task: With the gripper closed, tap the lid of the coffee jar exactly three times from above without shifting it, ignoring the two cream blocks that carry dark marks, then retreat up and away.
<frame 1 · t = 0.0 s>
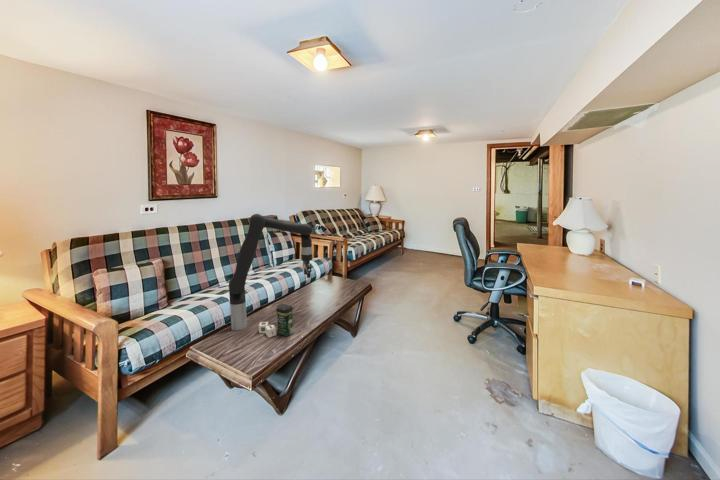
hand: (307, 276, 200), 29 cm above the table, fingers open, 8 cm apart
marked block B: (263, 331, 183), on the table
coffee jar: (285, 333, 181), on the table
marked block A: (270, 334, 179), on the table
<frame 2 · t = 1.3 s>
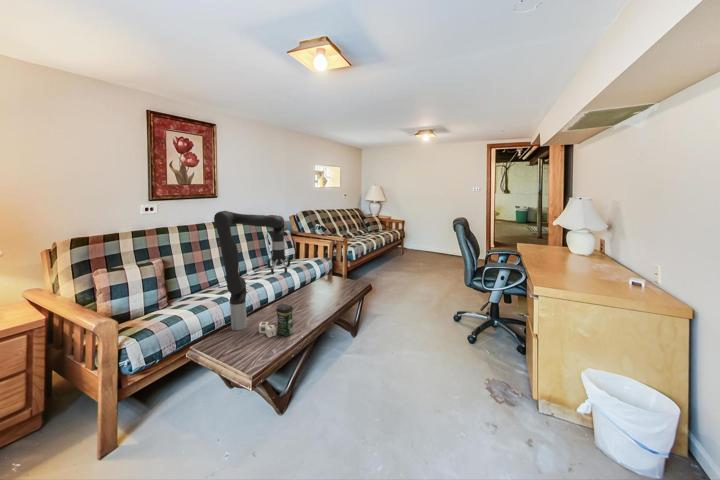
hand: (279, 273, 183), 36 cm above the table, fingers open, 7 cm apart
nothing on the table moved.
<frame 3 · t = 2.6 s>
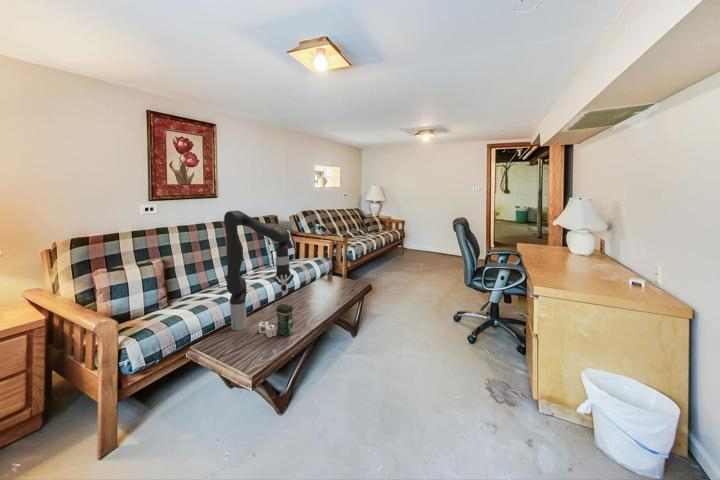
hand: (284, 290, 176), 28 cm above the table, fingers closed
nothing on the table moved.
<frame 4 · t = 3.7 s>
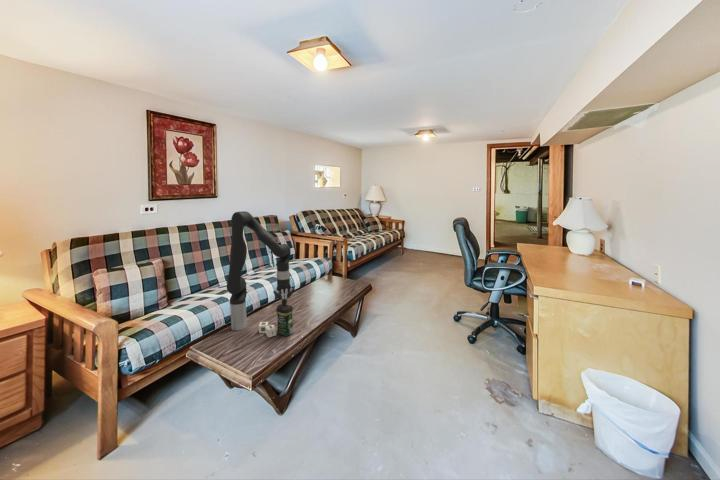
hand: (284, 304, 178), 19 cm above the table, fingers closed
nothing on the table moved.
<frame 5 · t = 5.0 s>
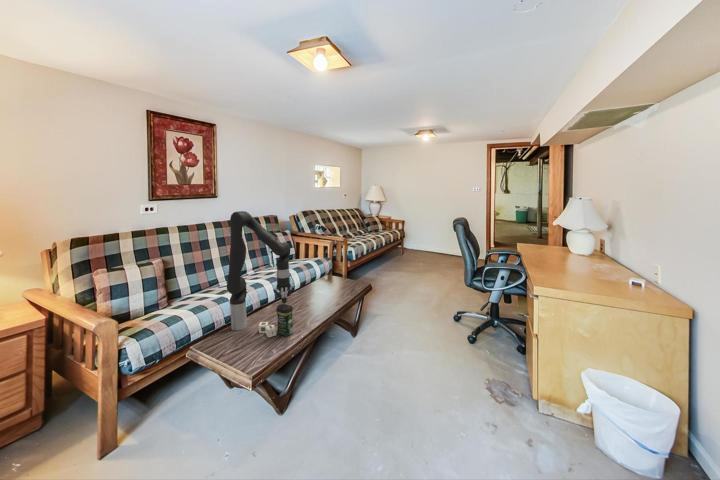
hand: (284, 303, 177), 20 cm above the table, fingers closed
nothing on the table moved.
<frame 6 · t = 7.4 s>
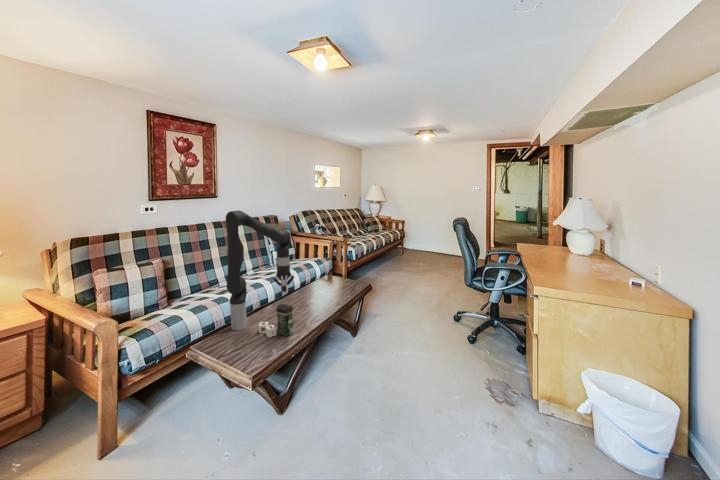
hand: (284, 291, 176), 27 cm above the table, fingers closed
nothing on the table moved.
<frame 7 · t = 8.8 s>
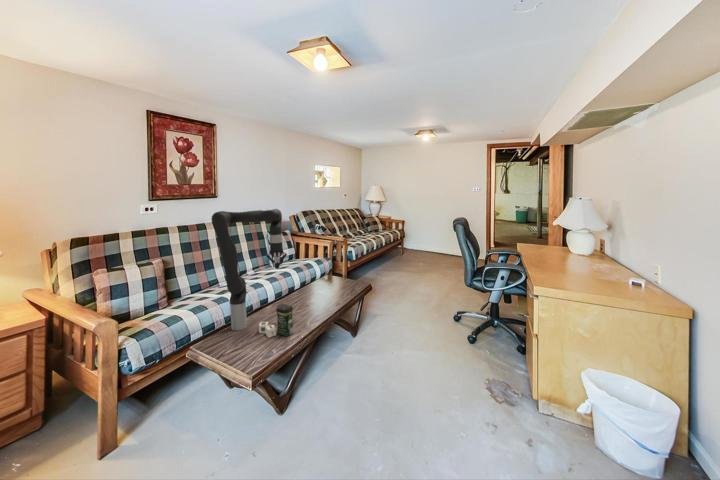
hand: (277, 268, 183), 39 cm above the table, fingers closed
nothing on the table moved.
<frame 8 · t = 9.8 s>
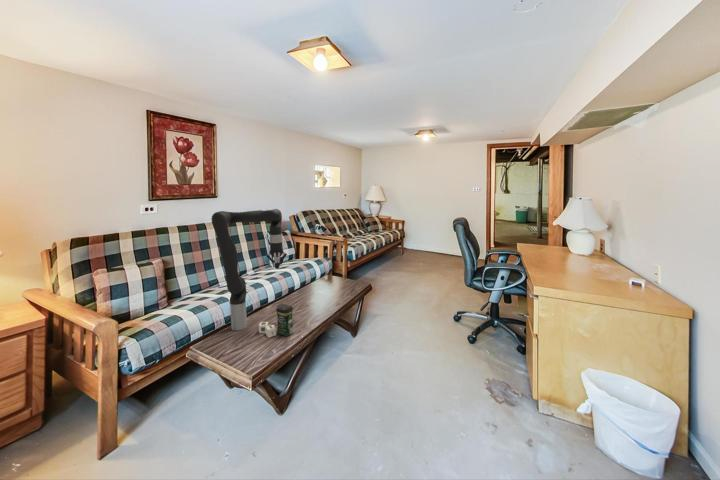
hand: (277, 268, 183), 39 cm above the table, fingers closed
nothing on the table moved.
at the end: coffee jar moved 0.2 cm from its start; coffee jar tilted 0°; marked block A moved 0.1 cm from its start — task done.
